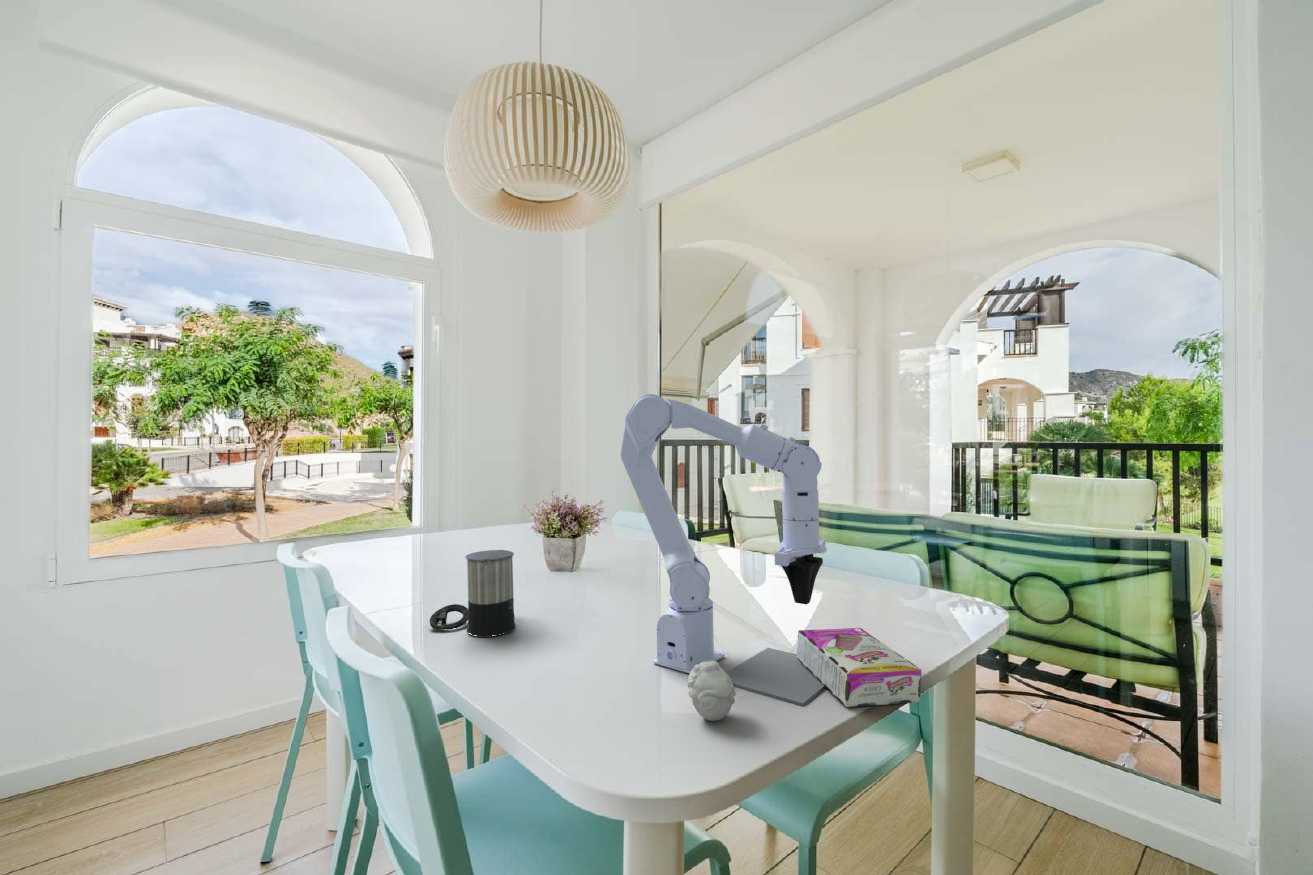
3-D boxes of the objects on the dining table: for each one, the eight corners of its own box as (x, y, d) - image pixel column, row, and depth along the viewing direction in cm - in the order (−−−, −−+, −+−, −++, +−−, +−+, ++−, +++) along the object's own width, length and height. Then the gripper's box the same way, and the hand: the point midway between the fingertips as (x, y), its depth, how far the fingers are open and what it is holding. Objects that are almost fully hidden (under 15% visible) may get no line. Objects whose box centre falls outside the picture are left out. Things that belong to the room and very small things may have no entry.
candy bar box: (860, 625, 96) (924, 668, 80) (859, 655, 96) (922, 704, 80) (796, 627, 94) (847, 672, 78) (794, 658, 94) (846, 709, 78)
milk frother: (519, 634, 112) (517, 556, 112) (430, 646, 106) (428, 564, 106) (509, 614, 125) (507, 544, 125) (429, 624, 120) (428, 550, 120)
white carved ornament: (716, 702, 81) (715, 651, 81) (747, 723, 75) (746, 668, 75) (678, 712, 79) (677, 660, 79) (707, 735, 72) (706, 678, 72)
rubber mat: (803, 706, 80) (803, 703, 80) (716, 680, 88) (715, 678, 88) (848, 668, 92) (848, 666, 92) (767, 649, 101) (767, 647, 101)
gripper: (804, 526, 88) (806, 618, 88) (842, 515, 99) (843, 596, 99) (761, 522, 92) (763, 610, 92) (802, 512, 103) (804, 590, 103)
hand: (802, 602), depth 96 cm, fingers closed
